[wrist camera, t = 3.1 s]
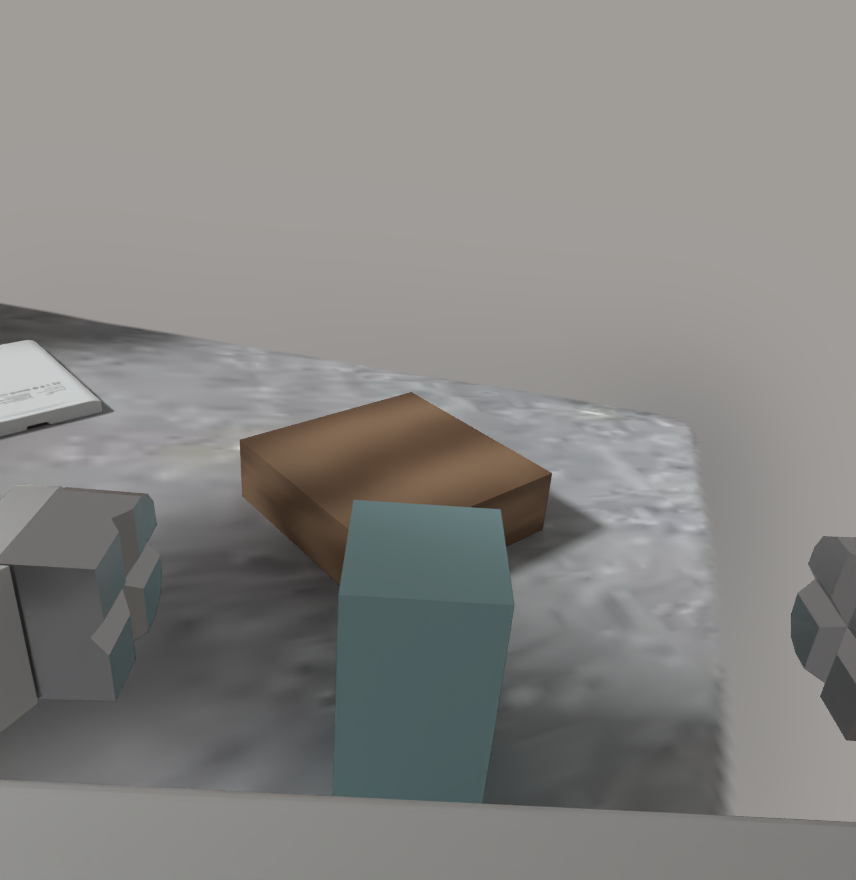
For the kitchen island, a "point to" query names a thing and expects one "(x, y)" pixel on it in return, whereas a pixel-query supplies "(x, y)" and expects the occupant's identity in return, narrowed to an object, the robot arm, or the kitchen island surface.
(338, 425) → the walnut block
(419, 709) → the teal block
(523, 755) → the kitchen island surface
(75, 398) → the external hard drive
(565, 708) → the kitchen island surface
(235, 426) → the kitchen island surface
